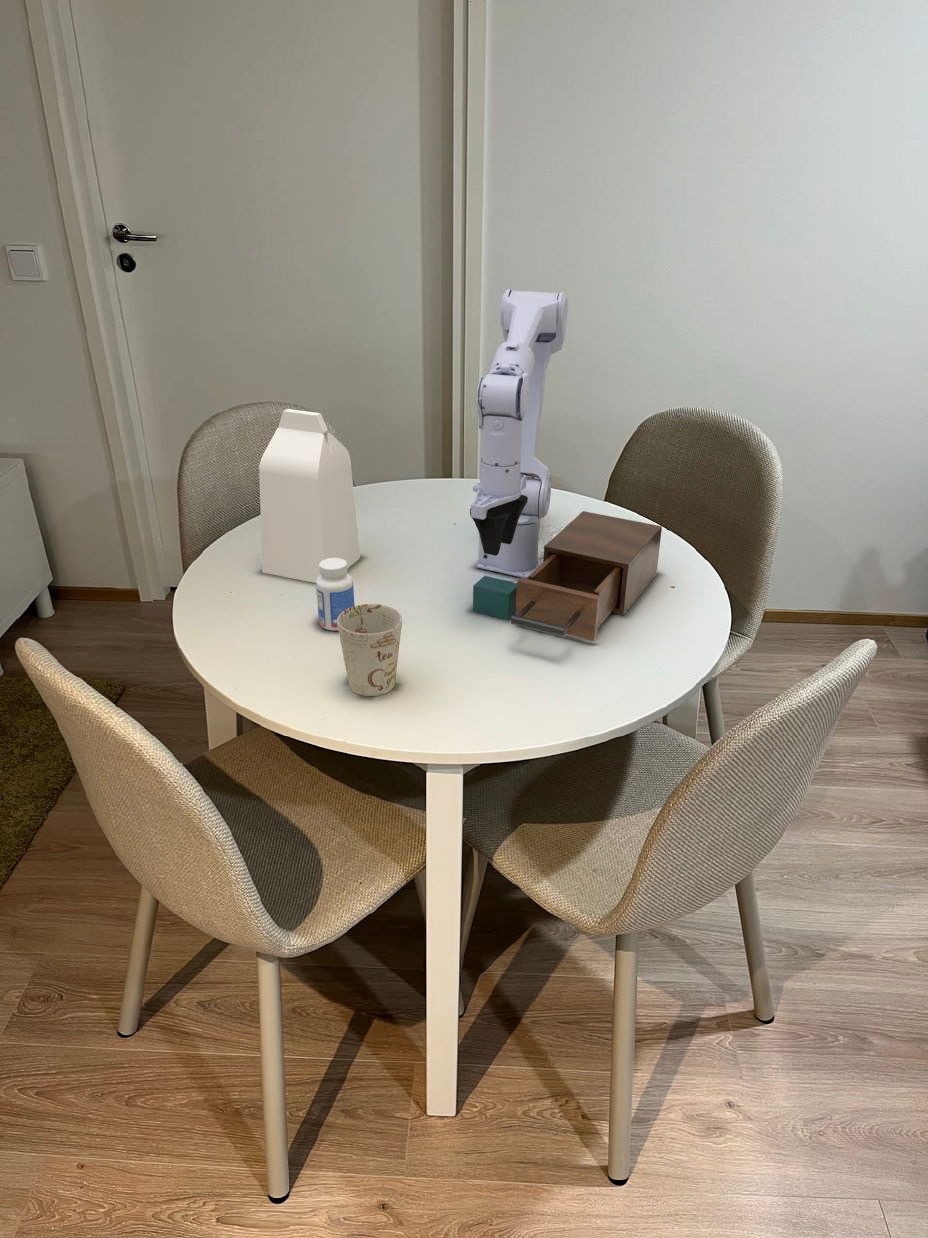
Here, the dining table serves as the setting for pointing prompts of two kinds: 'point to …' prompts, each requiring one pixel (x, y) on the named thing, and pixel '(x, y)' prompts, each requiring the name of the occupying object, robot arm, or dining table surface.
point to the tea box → (495, 597)
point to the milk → (306, 499)
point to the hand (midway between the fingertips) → (497, 548)
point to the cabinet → (612, 549)
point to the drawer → (568, 596)
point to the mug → (370, 647)
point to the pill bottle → (333, 591)
